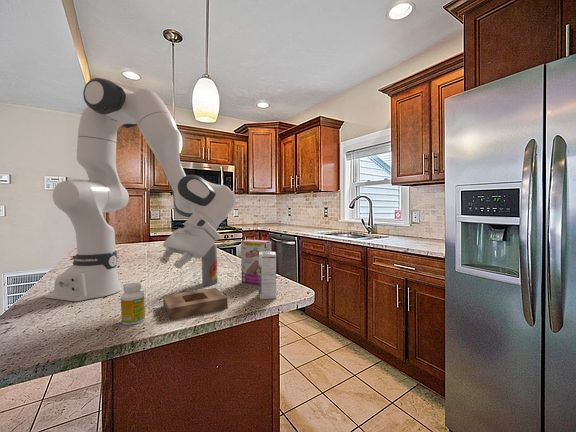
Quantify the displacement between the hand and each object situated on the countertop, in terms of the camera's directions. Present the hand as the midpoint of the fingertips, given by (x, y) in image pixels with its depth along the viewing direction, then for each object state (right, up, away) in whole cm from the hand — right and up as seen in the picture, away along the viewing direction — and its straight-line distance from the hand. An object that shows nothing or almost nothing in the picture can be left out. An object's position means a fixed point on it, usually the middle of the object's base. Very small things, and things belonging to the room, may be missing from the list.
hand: (168, 264), depth 81 cm
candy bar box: (+22, -12, +29) cm, 38 cm away
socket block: (+6, -13, +3) cm, 15 cm away
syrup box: (+27, -13, +12) cm, 33 cm away
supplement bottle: (-7, -14, -6) cm, 17 cm away
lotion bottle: (+4, -12, +29) cm, 31 cm away
